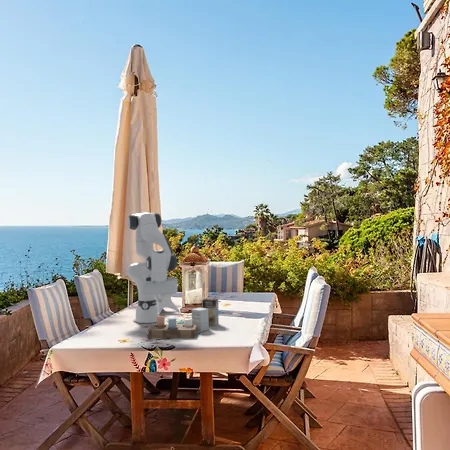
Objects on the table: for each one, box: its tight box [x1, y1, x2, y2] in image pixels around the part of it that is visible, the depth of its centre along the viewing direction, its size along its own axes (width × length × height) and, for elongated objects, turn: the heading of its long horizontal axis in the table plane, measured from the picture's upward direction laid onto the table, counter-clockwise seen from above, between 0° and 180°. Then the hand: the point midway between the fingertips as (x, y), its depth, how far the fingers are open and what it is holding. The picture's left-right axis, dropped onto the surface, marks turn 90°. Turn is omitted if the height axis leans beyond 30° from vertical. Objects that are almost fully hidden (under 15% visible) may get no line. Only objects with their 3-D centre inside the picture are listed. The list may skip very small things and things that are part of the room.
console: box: [147, 324, 199, 339], centre depth 285 cm, size 15×26×4 cm, turn 87°
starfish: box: [155, 283, 180, 315], centre depth 364 cm, size 20×20×20 cm
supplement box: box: [191, 307, 210, 333], centre depth 297 cm, size 7×7×13 cm
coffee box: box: [201, 298, 220, 327], centre depth 312 cm, size 9×6×16 cm
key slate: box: [167, 317, 178, 330], centre depth 281 cm, size 5×5×6 cm
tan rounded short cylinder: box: [156, 315, 166, 327], centre depth 289 cm, size 5×5×6 cm
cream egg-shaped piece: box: [183, 318, 192, 327], centre depth 288 cm, size 5×5×6 cm
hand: (160, 301), depth 288 cm, fingers closed
